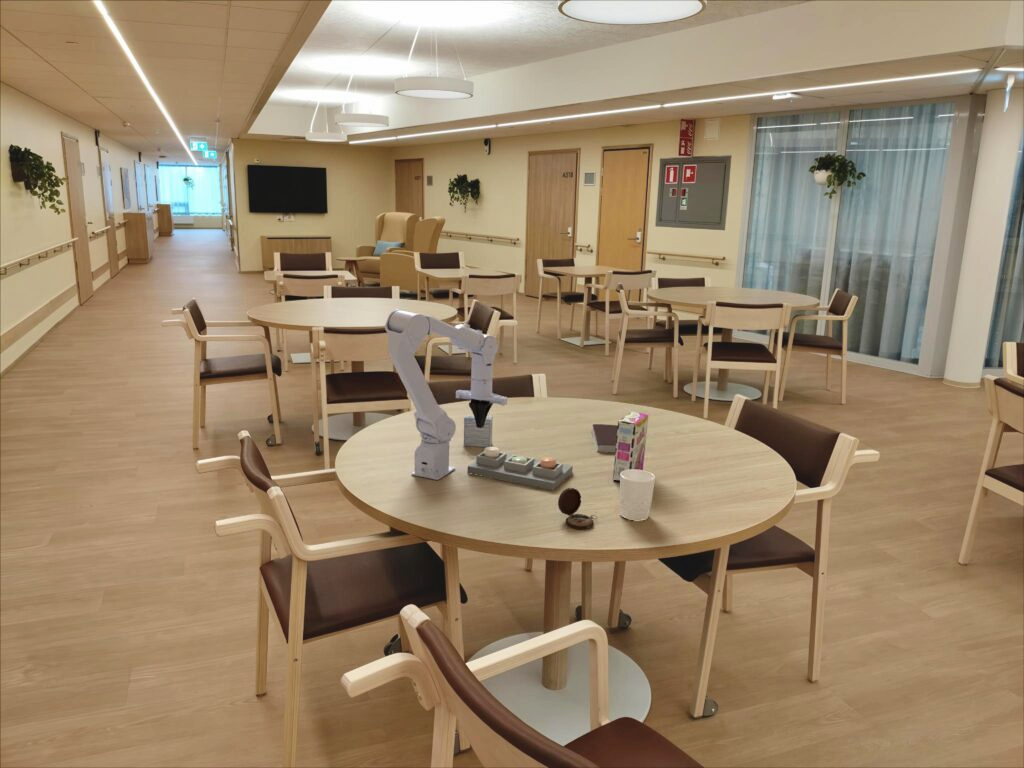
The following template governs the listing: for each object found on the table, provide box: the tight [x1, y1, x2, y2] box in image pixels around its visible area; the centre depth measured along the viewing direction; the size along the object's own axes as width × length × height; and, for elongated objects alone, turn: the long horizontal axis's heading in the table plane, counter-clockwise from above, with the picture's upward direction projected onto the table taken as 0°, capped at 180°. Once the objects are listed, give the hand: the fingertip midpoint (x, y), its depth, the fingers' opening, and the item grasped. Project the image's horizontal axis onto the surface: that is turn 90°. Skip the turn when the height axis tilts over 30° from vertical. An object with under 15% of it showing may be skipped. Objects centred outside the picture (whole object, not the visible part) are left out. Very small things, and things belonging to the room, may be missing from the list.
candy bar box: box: [612, 411, 649, 481], centre depth 196 cm, size 11×5×16 cm, turn 152°
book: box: [591, 423, 618, 453], centre depth 225 cm, size 12×19×3 cm, turn 179°
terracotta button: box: [539, 456, 557, 470], centre depth 192 cm, size 4×4×2 cm
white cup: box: [619, 469, 656, 520], centre depth 172 cm, size 8×8×10 cm
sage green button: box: [512, 456, 527, 464], centre depth 196 cm, size 4×4×2 cm
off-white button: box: [483, 446, 500, 459], centre depth 198 cm, size 4×4×2 cm
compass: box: [557, 487, 598, 530], centre depth 168 cm, size 8×8×7 cm
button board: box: [467, 451, 574, 491], centre depth 197 cm, size 14×24×4 cm, turn 66°
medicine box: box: [463, 413, 493, 448], centre depth 217 cm, size 8×4×9 cm, turn 84°
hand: (480, 426), depth 204 cm, fingers closed
